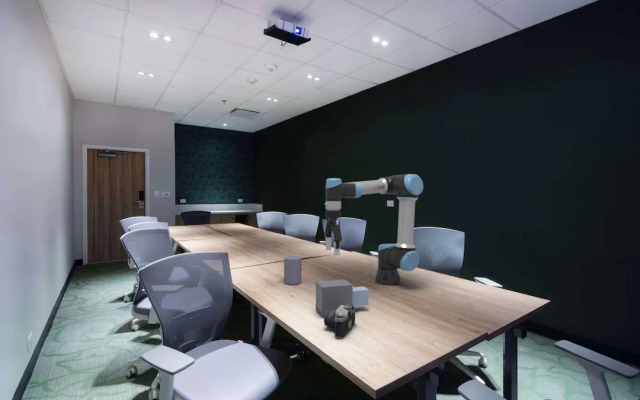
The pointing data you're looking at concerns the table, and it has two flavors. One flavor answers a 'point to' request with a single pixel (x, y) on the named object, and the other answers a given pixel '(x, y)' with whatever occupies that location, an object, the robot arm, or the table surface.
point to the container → (292, 270)
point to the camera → (340, 319)
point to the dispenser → (332, 295)
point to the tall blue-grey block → (360, 296)
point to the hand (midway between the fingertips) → (332, 252)
